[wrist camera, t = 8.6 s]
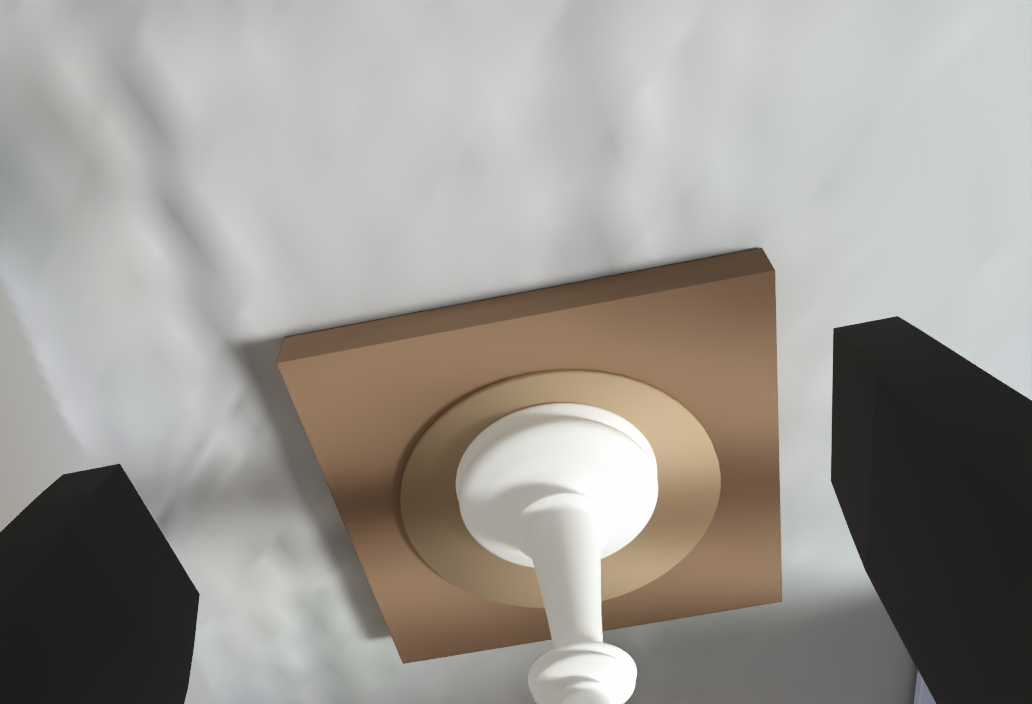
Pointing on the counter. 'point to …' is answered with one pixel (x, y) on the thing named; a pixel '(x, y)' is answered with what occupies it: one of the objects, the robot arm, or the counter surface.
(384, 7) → the counter surface
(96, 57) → the counter surface
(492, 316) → the pedestal
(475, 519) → the chess piece
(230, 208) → the counter surface
